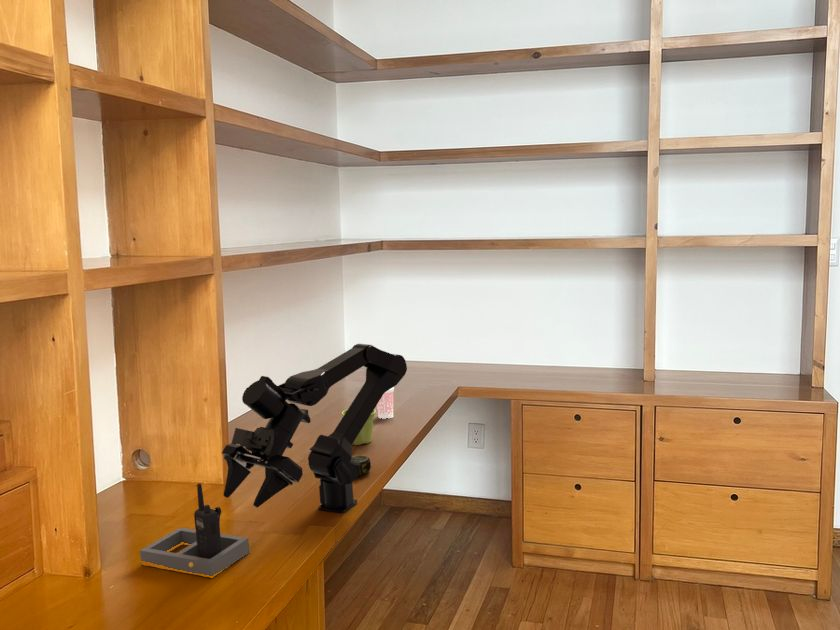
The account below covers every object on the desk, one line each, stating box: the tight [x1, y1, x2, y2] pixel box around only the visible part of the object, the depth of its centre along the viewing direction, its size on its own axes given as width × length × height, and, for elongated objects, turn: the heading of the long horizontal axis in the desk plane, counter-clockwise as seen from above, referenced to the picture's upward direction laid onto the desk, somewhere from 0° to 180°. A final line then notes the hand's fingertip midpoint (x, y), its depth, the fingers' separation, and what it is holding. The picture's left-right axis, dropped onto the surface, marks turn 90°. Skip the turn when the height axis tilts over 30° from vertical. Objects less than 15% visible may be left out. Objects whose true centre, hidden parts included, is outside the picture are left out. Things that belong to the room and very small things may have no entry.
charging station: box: [139, 527, 250, 576], centre depth 147 cm, size 17×11×3 cm
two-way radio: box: [193, 482, 222, 559], centre depth 145 cm, size 6×4×15 cm
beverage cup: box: [376, 386, 395, 420], centre depth 240 cm, size 6×6×14 cm
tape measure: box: [350, 454, 372, 477], centre depth 191 cm, size 7×7×4 cm
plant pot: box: [341, 408, 377, 446], centre depth 216 cm, size 9×9×9 cm
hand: (240, 501), depth 150 cm, fingers open, 9 cm apart
